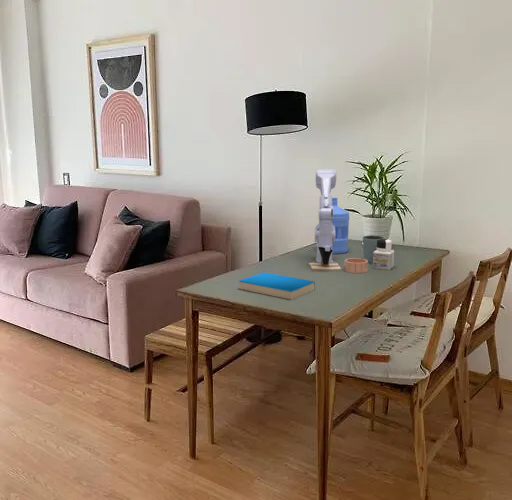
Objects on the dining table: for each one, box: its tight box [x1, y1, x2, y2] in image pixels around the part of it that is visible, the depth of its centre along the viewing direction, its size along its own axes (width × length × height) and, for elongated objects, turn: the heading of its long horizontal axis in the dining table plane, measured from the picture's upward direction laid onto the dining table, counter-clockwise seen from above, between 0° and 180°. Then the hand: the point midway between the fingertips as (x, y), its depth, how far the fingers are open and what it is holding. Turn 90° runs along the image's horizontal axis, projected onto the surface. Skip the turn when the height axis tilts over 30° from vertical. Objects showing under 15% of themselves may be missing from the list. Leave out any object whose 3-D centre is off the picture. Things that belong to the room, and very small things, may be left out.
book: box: [238, 271, 316, 300], centre depth 210 cm, size 17×4×25 cm
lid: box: [308, 256, 343, 272], centre depth 242 cm, size 13×13×5 cm
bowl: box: [343, 257, 369, 274], centre depth 236 cm, size 10×10×5 cm
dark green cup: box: [362, 234, 386, 264], centre depth 254 cm, size 10×10×12 cm
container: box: [372, 238, 395, 271], centre depth 243 cm, size 8×8×13 cm
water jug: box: [320, 197, 350, 255], centre depth 277 cm, size 16×16×28 cm
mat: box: [306, 262, 345, 273], centre depth 242 cm, size 15×15×1 cm
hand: (324, 263), depth 242 cm, fingers closed on lid, 3 cm apart
